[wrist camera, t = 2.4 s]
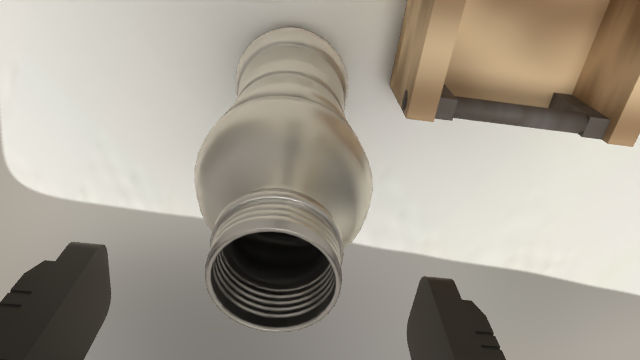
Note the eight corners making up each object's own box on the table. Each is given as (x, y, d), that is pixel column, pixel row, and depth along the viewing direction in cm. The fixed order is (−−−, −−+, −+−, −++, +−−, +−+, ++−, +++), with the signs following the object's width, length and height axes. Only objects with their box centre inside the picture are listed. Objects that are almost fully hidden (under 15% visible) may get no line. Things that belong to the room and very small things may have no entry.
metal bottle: (292, -5, 28) (265, 115, 10) (366, 77, 30) (447, 288, 13) (220, 69, 30) (91, 276, 12) (294, 141, 32) (277, 399, 15)
